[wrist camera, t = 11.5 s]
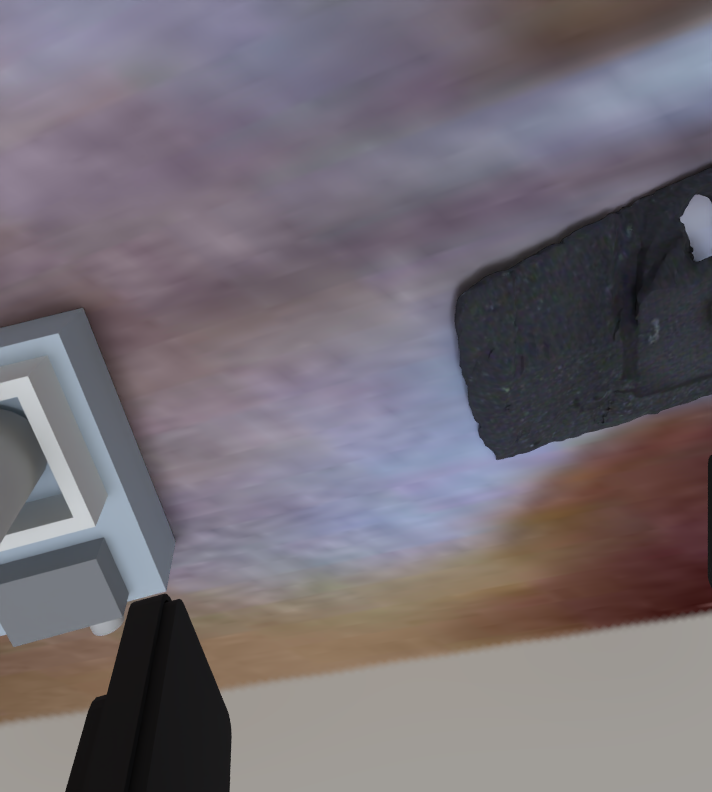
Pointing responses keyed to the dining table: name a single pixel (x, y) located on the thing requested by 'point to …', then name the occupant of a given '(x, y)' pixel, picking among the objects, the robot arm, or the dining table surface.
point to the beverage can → (17, 466)
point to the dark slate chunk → (591, 328)
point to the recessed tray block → (76, 490)
